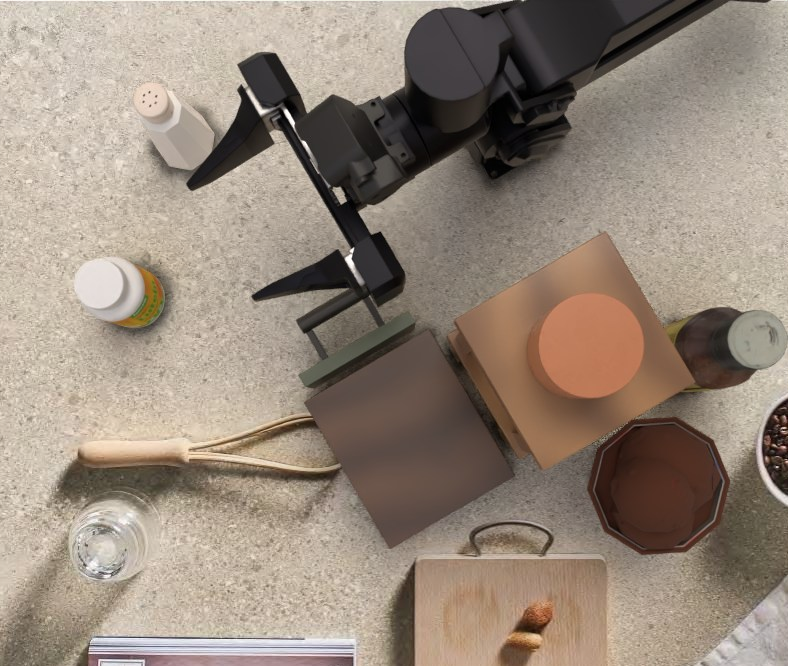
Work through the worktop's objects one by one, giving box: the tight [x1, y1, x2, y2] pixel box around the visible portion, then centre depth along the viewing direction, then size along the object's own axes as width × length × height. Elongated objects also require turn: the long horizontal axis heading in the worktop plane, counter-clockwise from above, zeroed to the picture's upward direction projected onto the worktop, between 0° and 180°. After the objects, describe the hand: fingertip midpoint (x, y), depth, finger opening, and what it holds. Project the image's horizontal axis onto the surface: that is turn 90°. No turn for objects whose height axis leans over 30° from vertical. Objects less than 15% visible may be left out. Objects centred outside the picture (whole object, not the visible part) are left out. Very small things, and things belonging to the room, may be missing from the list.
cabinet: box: [303, 328, 516, 550], centre depth 74 cm, size 14×12×9 cm
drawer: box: [295, 288, 417, 390], centre depth 74 cm, size 17×10×7 cm, turn 30°
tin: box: [527, 293, 644, 399], centre depth 52 cm, size 6×6×5 cm
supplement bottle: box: [73, 255, 166, 329], centre depth 74 cm, size 5×5×10 cm
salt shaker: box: [132, 81, 216, 171], centre depth 74 cm, size 5×5×11 cm
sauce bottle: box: [663, 306, 788, 393], centre depth 68 cm, size 7×6×20 cm
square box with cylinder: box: [445, 230, 695, 472], centre depth 67 cm, size 11×11×24 cm
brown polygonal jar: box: [586, 416, 731, 556], centre depth 71 cm, size 11×11×15 cm
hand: (220, 243), depth 62 cm, fingers open, 9 cm apart
